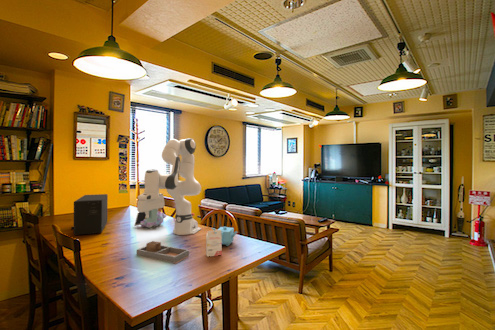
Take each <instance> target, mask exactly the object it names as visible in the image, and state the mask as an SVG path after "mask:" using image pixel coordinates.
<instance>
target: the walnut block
mask: <svg viewBox="0 0 495 330" xmlns="http://www.w3.org/2000/svg"><path fill="white" fill-rule="evenodd" d="M161 245H162V242H161V241H154V240H152V241H149V242H147V243H146V245H145V246H146V251H150V252H155V253H156V252H158V251H161Z"/></svg>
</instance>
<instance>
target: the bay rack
mask: <svg viewBox="0 0 495 330" xmlns="http://www.w3.org/2000/svg"><path fill="white" fill-rule="evenodd" d="M136 256H139V257H144V258H149V259H152V260H153V259H154V260H159V261H163V262H164V261H165V262H168V263H173V264H174V265H176V264H178V263H180V262H181V261H183V260H185V259H187V258H189V257H190V250H189V249H186V248H180V247H175V246H169V245H162V244H161V251H158V252H156V253H155V252H150V251H146V245H145V246H143V247H140V248H137V249H136Z"/></svg>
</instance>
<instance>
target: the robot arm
mask: <svg viewBox="0 0 495 330" xmlns="http://www.w3.org/2000/svg"><path fill="white" fill-rule="evenodd" d="M196 147H197V143H196V141H195V140H194V138H192V137H191V138H188V137H187V138H185V139H179V140H178V139H175V138H171V139H169V140H168V141H167V142H166V145H165V146H164V147H163V150H162V151H161V159H162V160H163V161H164V162H165V163H166V164H168V165H170V166H172V167H171V172H170V173H167V174H166V173H164V174H163V173H160V172H159V170H158V169H154V168H153V169H152V168H151V169H147V170H146V171H145V173H144V180H143V181H144V184H143V185H144V192H143V193H141V194H139V195H138V196H137V200H138V201H137V207H136V208H137V213H139V212H145V214H146V218H150V215H149V211H150V210H153V209H157V212H159V209H162V208H164V207H165V205H166V204H165V197H164V194H163V193H160V190H161V189H163V190H165V189H166V193H167V194H169V196H171V198H172V199H173V200H174V202H175V220H174V225H173V226H174V228H173V229H172V231H173V234H174V235H178V236H179V235H180V236H182V235H183V236H186V235H194V234H196V233H197V232H199V231H201V230H202V227H199V225H198V224H199V223H198V221H197V220H196V219H194V217H195V212H192V203H191V201H189V200H187V199H185V197H186V196H188V197H190V196H191V197H192V196H193V197H194V196H197V195H200V193H201V192H202V185H201V184H200V182H199V181H198V180H196V178H195V161H196V160H195V154H194V153H195V150H196V149H197V148H196ZM180 156H181V158H180ZM179 176H180V177H181V178H183V179H185V180H179ZM193 216H194V217H193Z"/></svg>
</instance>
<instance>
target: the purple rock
mask: <svg viewBox="0 0 495 330" xmlns="http://www.w3.org/2000/svg"><path fill="white" fill-rule="evenodd" d="M165 218H167V214H165V213H164V212H162V211H159V210H158V212H157V221H156V222H153V223H150V222H146V214H145V212H137V215H136V218H135V222H134V227H136V226H141V227H147V229H148V228H149V229H150V228H153V227H155V228H157V227H158V226H160V225H161V224H163V222H164V219H165Z"/></svg>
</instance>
